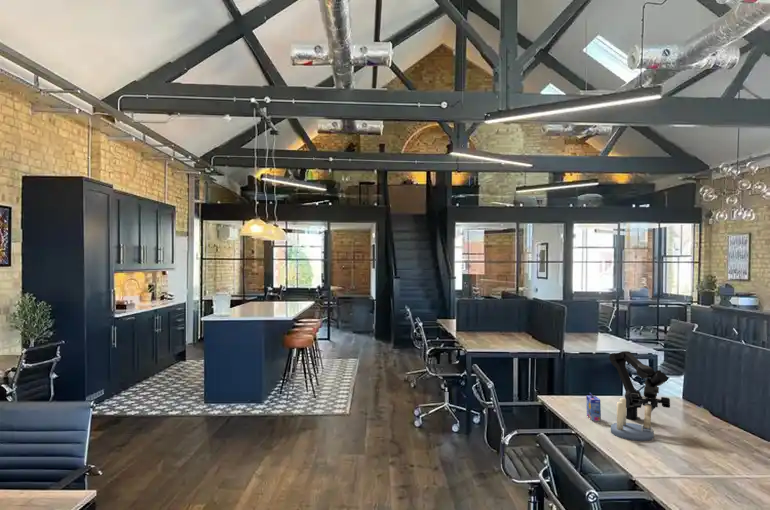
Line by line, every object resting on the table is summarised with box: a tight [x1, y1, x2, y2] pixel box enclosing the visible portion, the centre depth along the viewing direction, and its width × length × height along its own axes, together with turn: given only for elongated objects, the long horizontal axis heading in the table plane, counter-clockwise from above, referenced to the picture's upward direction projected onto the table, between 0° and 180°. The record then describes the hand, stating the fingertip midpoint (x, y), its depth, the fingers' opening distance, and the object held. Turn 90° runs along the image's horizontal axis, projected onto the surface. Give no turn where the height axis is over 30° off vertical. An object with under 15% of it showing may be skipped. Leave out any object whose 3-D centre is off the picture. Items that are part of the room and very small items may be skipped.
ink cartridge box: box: [585, 392, 602, 422], centre depth 292 cm, size 10×6×14 cm, turn 174°
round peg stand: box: [610, 397, 655, 442], centre depth 265 cm, size 20×20×16 cm
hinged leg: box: [643, 403, 652, 430], centre depth 264 cm, size 3×3×13 cm
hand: (648, 414), depth 269 cm, fingers closed
